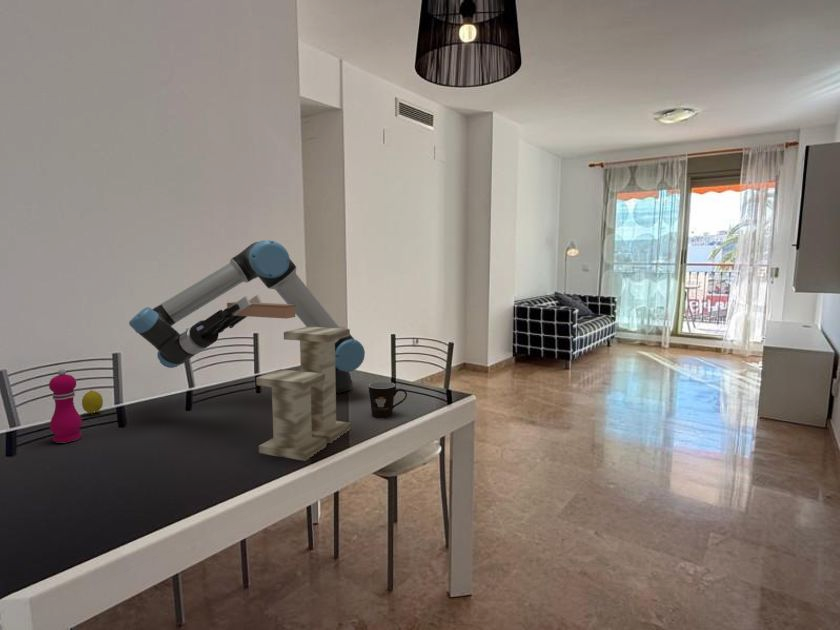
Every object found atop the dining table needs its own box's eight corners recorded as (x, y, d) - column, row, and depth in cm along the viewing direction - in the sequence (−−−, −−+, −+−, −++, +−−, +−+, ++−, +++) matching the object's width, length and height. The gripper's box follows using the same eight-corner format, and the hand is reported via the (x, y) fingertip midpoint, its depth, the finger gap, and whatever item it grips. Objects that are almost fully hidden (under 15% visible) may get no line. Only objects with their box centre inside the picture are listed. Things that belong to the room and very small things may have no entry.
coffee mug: (363, 417, 154) (363, 386, 152) (378, 409, 161) (377, 380, 160) (394, 422, 148) (394, 391, 147) (408, 415, 156) (408, 384, 155)
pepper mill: (58, 446, 129) (51, 373, 126) (46, 441, 132) (40, 370, 130) (88, 438, 135) (82, 368, 132) (76, 433, 138) (70, 365, 136)
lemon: (81, 418, 152) (79, 393, 151) (84, 413, 157) (82, 389, 156) (102, 415, 154) (100, 391, 153) (104, 410, 159) (102, 387, 158)
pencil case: (295, 316, 133) (295, 304, 133) (286, 318, 129) (286, 305, 129) (237, 313, 140) (237, 301, 140) (227, 315, 136) (226, 302, 136)
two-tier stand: (351, 429, 143) (349, 328, 139) (305, 460, 120) (302, 342, 117) (310, 423, 147) (307, 326, 144) (259, 453, 125) (254, 338, 121)
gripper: (170, 329, 136) (225, 289, 127) (215, 322, 152) (267, 286, 143) (181, 353, 135) (238, 314, 127) (226, 343, 151) (278, 308, 143)
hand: (253, 300), depth 135 cm, fingers closed on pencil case, 4 cm apart
